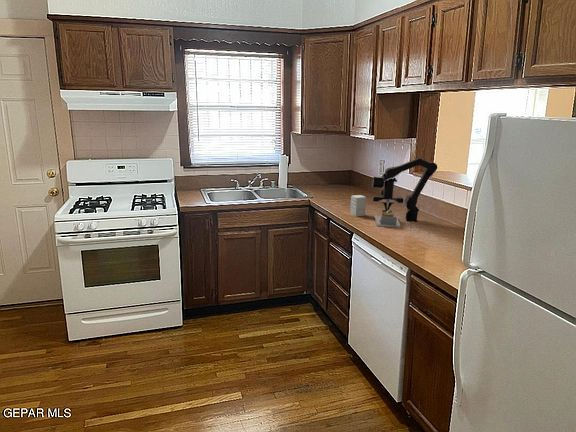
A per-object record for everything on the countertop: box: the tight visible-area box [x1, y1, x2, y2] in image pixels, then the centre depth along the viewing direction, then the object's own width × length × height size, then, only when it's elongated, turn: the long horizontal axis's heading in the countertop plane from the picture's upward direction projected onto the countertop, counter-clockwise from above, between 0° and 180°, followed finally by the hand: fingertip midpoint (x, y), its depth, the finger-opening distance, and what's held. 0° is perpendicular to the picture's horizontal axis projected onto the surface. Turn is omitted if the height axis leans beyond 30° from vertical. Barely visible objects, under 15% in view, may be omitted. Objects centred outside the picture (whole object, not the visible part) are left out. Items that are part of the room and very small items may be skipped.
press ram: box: [381, 209, 395, 217], centre depth 275 cm, size 7×8×5 cm
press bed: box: [374, 215, 401, 228], centre depth 274 cm, size 14×22×6 cm, turn 172°
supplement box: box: [349, 194, 367, 217], centre depth 290 cm, size 7×7×13 cm
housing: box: [384, 211, 394, 217], centre depth 268 cm, size 5×5×7 cm
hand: (386, 212), depth 281 cm, fingers closed
